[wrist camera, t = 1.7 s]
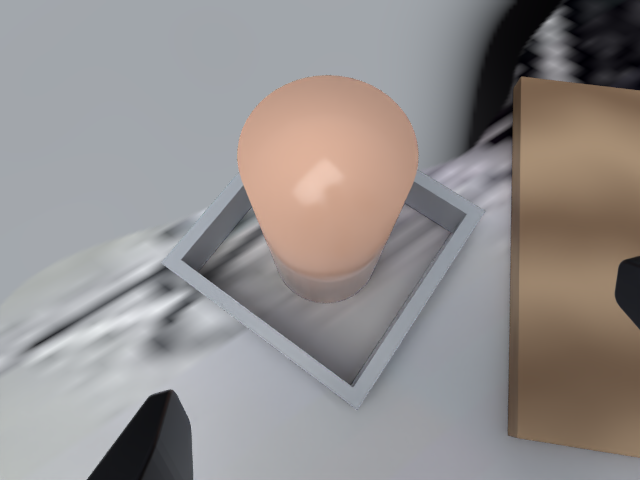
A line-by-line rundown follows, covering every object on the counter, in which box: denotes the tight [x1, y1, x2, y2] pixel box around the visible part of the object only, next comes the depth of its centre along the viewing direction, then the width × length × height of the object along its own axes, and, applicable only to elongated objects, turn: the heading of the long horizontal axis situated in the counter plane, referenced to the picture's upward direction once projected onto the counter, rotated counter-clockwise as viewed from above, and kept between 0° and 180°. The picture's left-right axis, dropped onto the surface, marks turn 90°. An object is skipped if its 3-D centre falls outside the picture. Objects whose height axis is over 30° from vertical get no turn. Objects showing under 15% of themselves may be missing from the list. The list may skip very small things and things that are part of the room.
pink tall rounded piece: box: [237, 75, 418, 303], centre depth 17 cm, size 5×5×10 cm
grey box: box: [162, 170, 485, 410], centre depth 20 cm, size 10×10×2 cm
